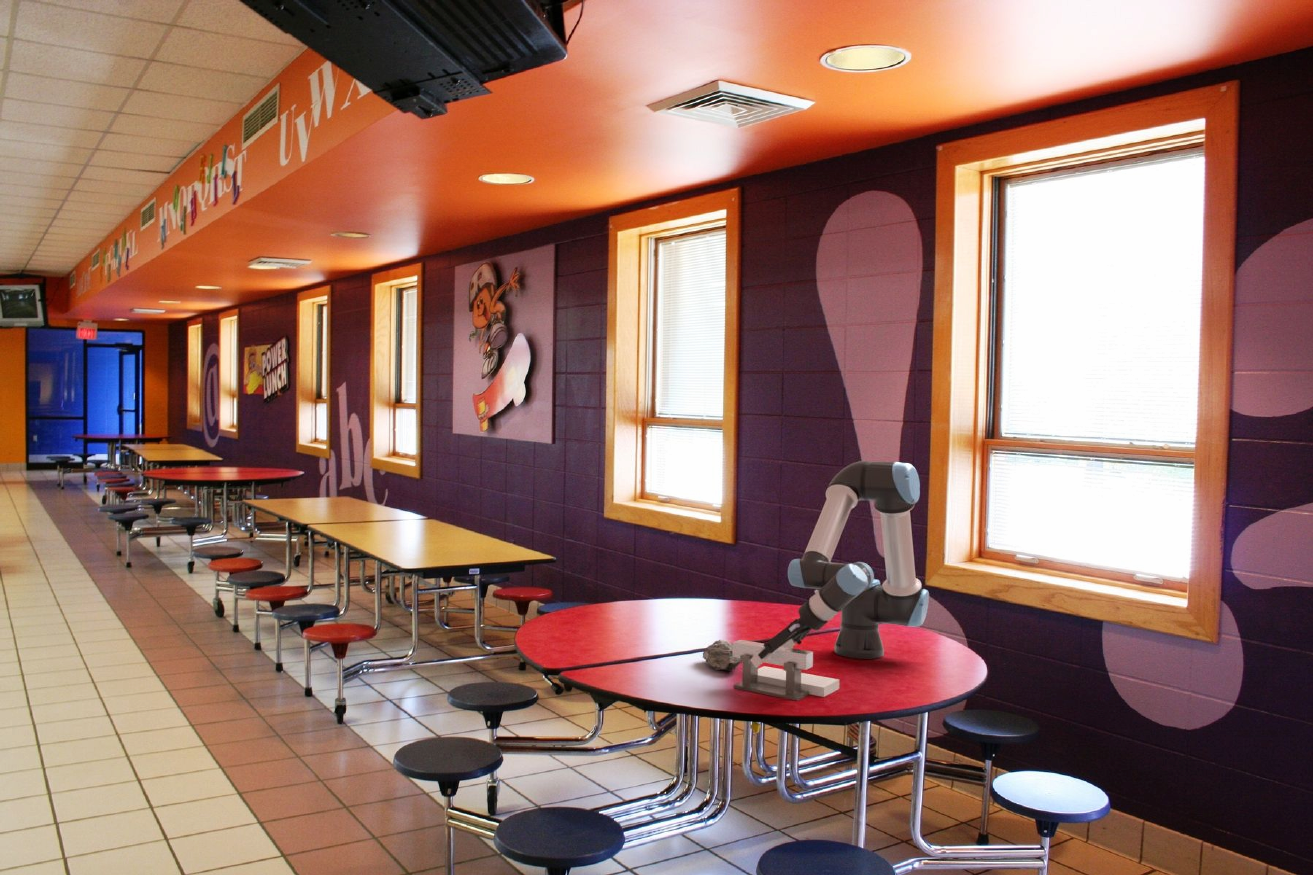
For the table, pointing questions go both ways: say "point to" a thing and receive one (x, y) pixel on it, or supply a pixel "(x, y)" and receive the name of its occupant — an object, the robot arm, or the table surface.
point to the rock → (721, 655)
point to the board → (808, 681)
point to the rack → (752, 685)
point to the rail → (775, 654)
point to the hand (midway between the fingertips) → (765, 658)
